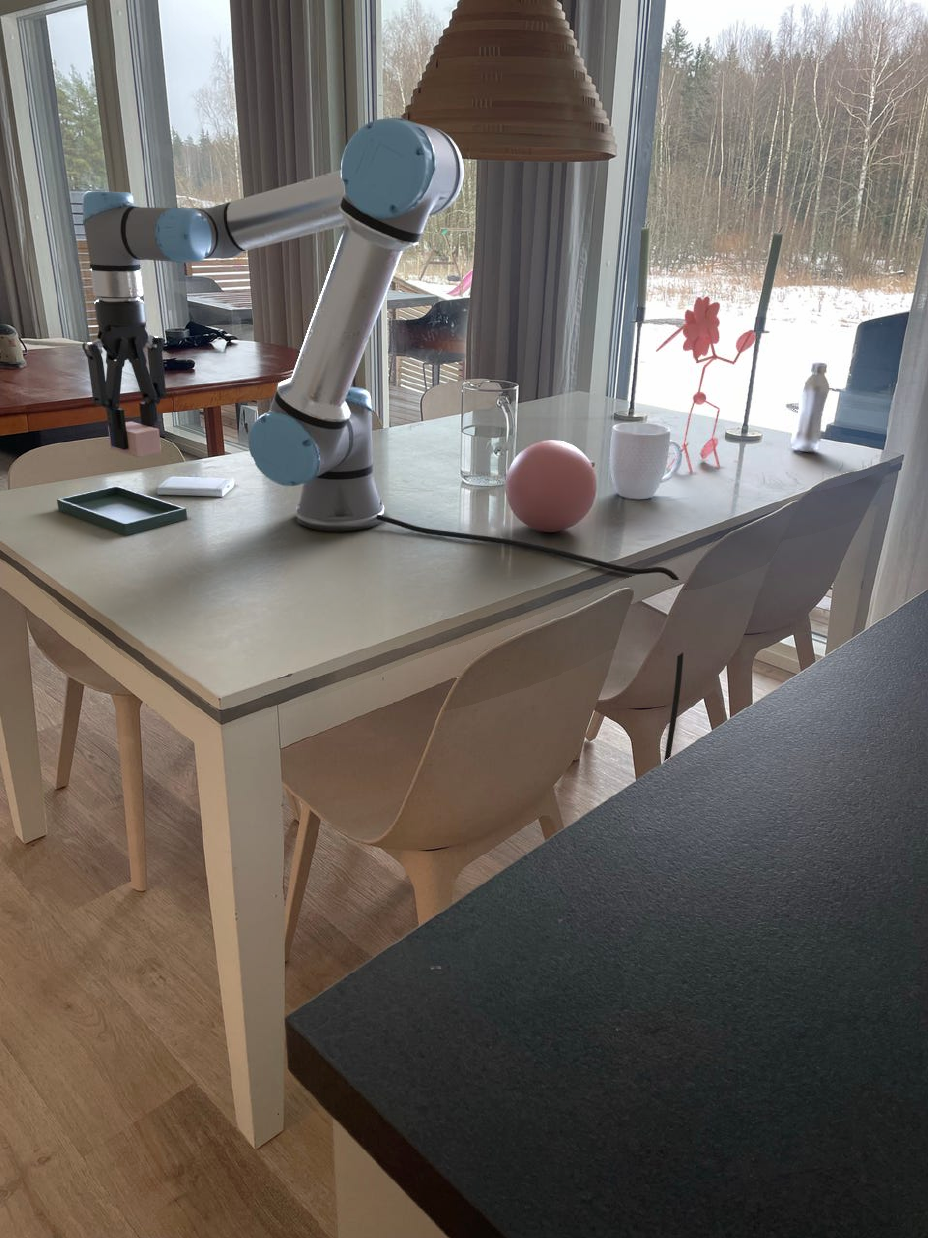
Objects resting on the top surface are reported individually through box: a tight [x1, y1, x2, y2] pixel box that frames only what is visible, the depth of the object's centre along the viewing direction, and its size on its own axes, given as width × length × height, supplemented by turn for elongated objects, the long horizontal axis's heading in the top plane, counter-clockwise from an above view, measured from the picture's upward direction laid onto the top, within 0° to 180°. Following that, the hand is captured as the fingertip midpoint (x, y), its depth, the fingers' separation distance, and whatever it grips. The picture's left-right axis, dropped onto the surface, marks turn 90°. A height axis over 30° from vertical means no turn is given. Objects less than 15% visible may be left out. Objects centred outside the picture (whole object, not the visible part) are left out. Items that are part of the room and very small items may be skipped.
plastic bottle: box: [790, 362, 830, 453], centre depth 214 cm, size 6×7×20 cm
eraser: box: [107, 420, 162, 458], centre depth 156 cm, size 8×5×4 cm, turn 51°
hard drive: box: [156, 475, 235, 498], centre depth 178 cm, size 2×8×12 cm
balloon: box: [504, 439, 598, 533], centre depth 159 cm, size 15×20×15 cm
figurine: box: [655, 295, 757, 474], centre depth 198 cm, size 15×26×35 cm, turn 127°
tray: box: [56, 485, 188, 537], centre depth 163 cm, size 21×12×2 cm, turn 51°
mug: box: [609, 422, 683, 500], centre depth 179 cm, size 15×11×13 cm
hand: (136, 444), depth 156 cm, fingers closed on eraser, 5 cm apart
